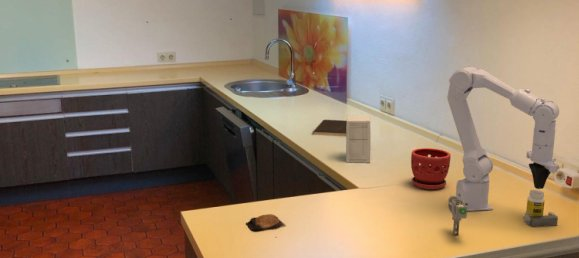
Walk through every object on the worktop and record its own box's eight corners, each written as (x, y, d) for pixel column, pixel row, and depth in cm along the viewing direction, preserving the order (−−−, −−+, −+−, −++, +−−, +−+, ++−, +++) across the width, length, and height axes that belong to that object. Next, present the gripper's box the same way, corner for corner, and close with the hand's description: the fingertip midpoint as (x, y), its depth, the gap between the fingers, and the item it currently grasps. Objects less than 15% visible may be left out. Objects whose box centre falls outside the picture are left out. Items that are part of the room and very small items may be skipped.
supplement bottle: (532, 222, 184) (534, 195, 182) (522, 216, 188) (524, 190, 186) (546, 220, 185) (548, 193, 183) (535, 214, 190) (538, 188, 187)
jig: (530, 227, 180) (531, 219, 180) (523, 221, 184) (524, 213, 184) (558, 225, 181) (559, 217, 181) (551, 219, 185) (551, 211, 185)
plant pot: (449, 192, 208) (451, 158, 205) (409, 190, 211) (411, 156, 208) (448, 180, 221) (449, 147, 218) (410, 178, 223) (411, 146, 220)
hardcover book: (355, 125, 301) (355, 121, 300) (347, 137, 279) (347, 132, 279) (322, 124, 305) (322, 119, 304) (312, 135, 283) (312, 130, 283)
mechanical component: (455, 227, 181) (457, 194, 178) (466, 242, 171) (468, 207, 168) (445, 227, 181) (447, 194, 178) (455, 242, 171) (458, 208, 168)
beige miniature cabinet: (369, 156, 250) (370, 115, 246) (370, 163, 241) (371, 120, 237) (345, 155, 251) (346, 114, 247) (345, 162, 242) (346, 120, 238)
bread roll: (276, 218, 190) (275, 207, 189) (287, 228, 182) (287, 217, 181) (243, 224, 185) (242, 213, 184) (253, 235, 178) (253, 223, 177)
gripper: (569, 150, 173) (564, 196, 177) (543, 136, 187) (539, 179, 191) (545, 151, 173) (541, 197, 176) (521, 137, 187) (517, 180, 190)
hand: (538, 188), depth 183 cm, fingers closed
